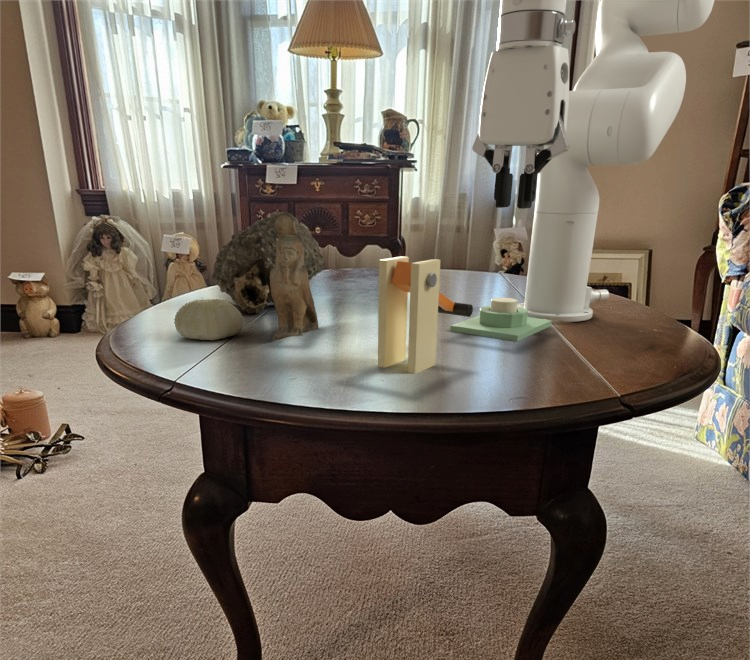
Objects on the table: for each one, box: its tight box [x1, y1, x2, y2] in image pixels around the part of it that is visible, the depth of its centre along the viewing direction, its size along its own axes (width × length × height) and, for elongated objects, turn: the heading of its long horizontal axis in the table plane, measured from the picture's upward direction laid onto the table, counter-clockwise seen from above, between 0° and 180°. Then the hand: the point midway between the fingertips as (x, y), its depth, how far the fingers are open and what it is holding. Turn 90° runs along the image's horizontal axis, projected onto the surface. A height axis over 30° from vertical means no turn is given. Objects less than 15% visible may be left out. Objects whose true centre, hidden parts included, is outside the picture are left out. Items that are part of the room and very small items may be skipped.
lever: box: [392, 261, 474, 318], centre depth 74 cm, size 13×5×2 cm, turn 145°
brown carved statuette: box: [270, 212, 319, 342], centre depth 88 cm, size 12×6×18 cm, turn 170°
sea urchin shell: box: [173, 298, 244, 342], centre depth 92 cm, size 9×8×8 cm
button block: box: [449, 305, 553, 342], centre depth 92 cm, size 12×10×4 cm
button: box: [490, 297, 519, 313], centre depth 91 cm, size 4×4×2 cm
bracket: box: [377, 255, 441, 374], centre depth 72 cm, size 12×9×13 cm
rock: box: [211, 209, 326, 314], centre depth 109 cm, size 18×14×15 cm
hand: (513, 206), depth 85 cm, fingers closed
